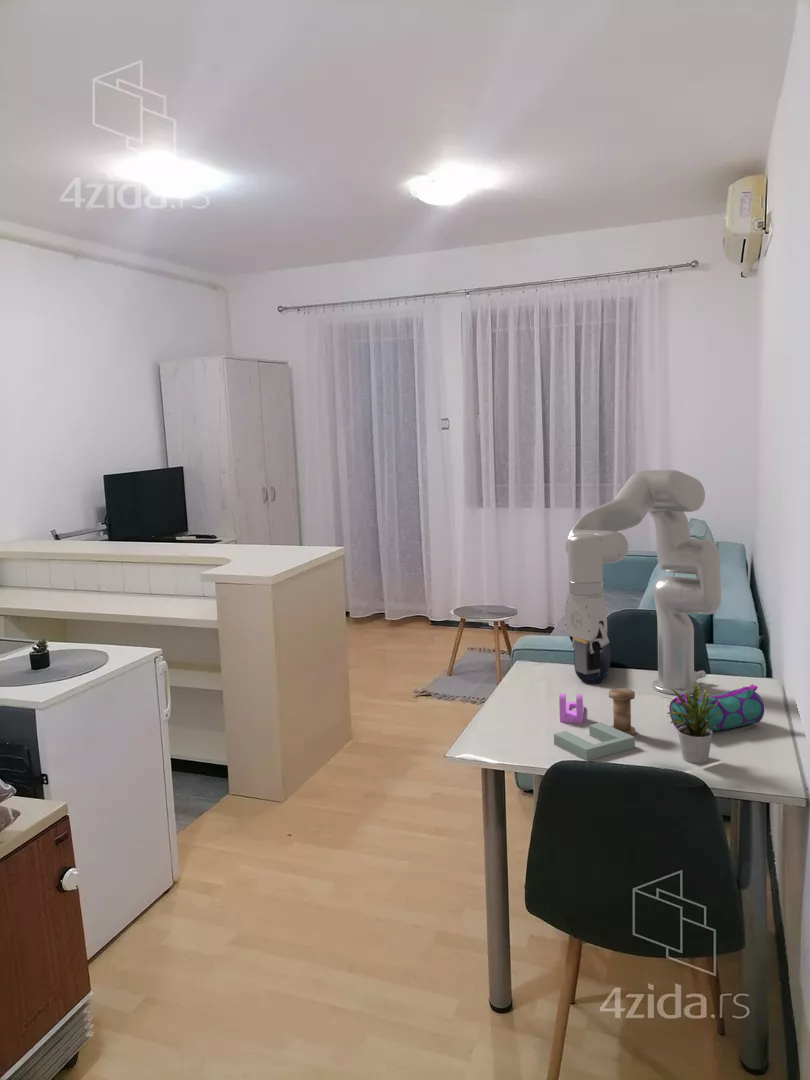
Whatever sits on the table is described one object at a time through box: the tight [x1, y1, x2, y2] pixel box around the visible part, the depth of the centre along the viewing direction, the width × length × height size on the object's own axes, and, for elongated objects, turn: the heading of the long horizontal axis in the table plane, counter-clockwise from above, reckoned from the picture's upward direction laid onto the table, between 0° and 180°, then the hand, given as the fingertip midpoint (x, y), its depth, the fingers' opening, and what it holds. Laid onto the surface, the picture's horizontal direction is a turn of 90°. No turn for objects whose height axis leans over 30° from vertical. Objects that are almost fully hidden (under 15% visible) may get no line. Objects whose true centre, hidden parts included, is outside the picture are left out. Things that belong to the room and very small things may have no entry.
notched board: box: [553, 721, 636, 761], centre depth 176 cm, size 14×12×2 cm
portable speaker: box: [574, 644, 612, 685], centre depth 231 cm, size 25×10×10 cm, turn 164°
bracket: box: [558, 693, 585, 724], centre depth 197 cm, size 13×6×7 cm, turn 165°
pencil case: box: [668, 683, 765, 732], centre depth 183 cm, size 21×9×10 cm, turn 105°
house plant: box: [662, 682, 724, 765], centre depth 167 cm, size 14×14×16 cm
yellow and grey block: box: [573, 637, 600, 675], centre depth 175 cm, size 4×4×8 cm
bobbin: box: [608, 688, 636, 737], centre depth 183 cm, size 6×6×10 cm
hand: (587, 666), depth 175 cm, fingers closed on yellow and grey block, 4 cm apart
